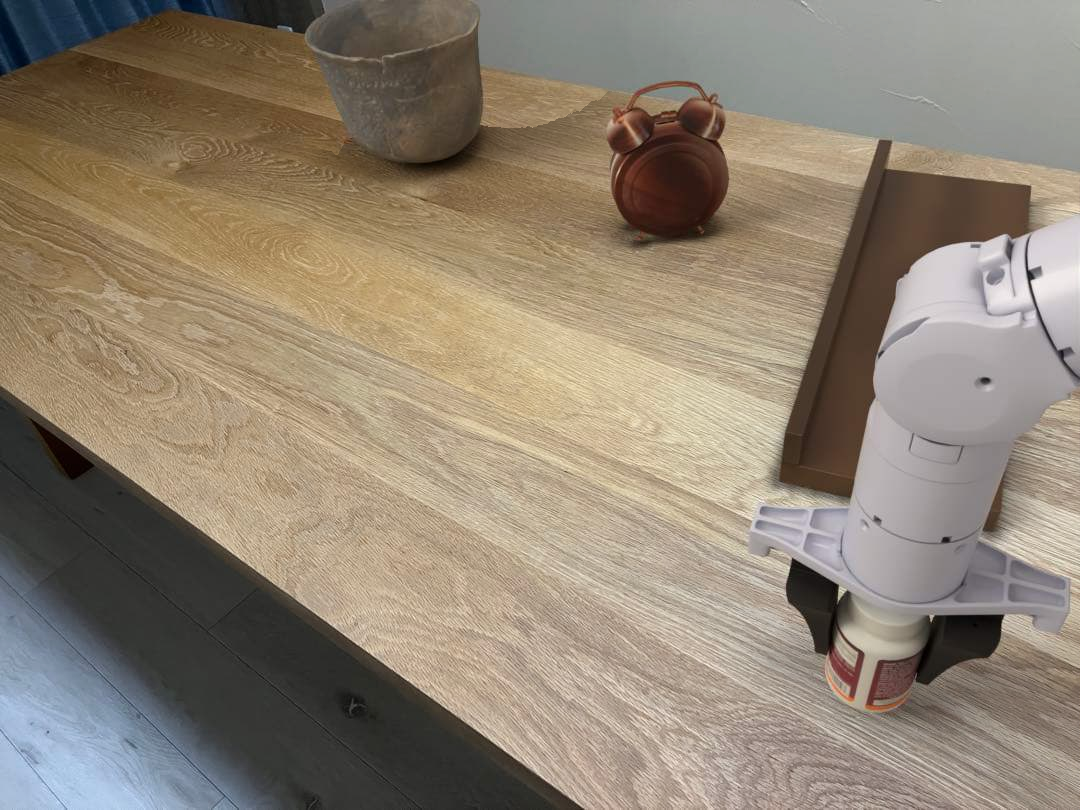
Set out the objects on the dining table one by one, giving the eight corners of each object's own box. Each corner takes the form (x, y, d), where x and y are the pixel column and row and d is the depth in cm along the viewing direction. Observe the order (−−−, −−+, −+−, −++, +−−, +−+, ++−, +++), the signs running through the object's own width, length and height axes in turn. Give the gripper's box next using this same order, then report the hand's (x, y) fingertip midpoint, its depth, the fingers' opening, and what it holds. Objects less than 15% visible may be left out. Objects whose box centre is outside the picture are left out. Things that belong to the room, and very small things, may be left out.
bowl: (393, 212, 96) (360, 74, 85) (313, 156, 106) (275, 27, 96) (526, 148, 103) (510, 13, 92) (438, 102, 113) (416, -24, 103)
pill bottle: (917, 655, 53) (947, 568, 47) (903, 727, 50) (933, 645, 44) (833, 629, 55) (852, 542, 49) (814, 697, 52) (833, 614, 46)
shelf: (1025, 204, 86) (1041, 155, 83) (993, 532, 60) (1013, 481, 57) (871, 185, 91) (879, 138, 87) (778, 481, 65) (784, 432, 61)
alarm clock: (717, 211, 90) (725, 63, 80) (728, 238, 87) (737, 87, 76) (607, 224, 90) (600, 77, 80) (613, 252, 87) (607, 102, 76)
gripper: (1101, 467, 41) (1022, 632, 51) (778, 401, 46) (760, 562, 56) (1102, 592, 37) (1014, 747, 46) (743, 504, 42) (730, 660, 51)
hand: (874, 653), depth 51 cm, fingers closed on pill bottle, 5 cm apart
